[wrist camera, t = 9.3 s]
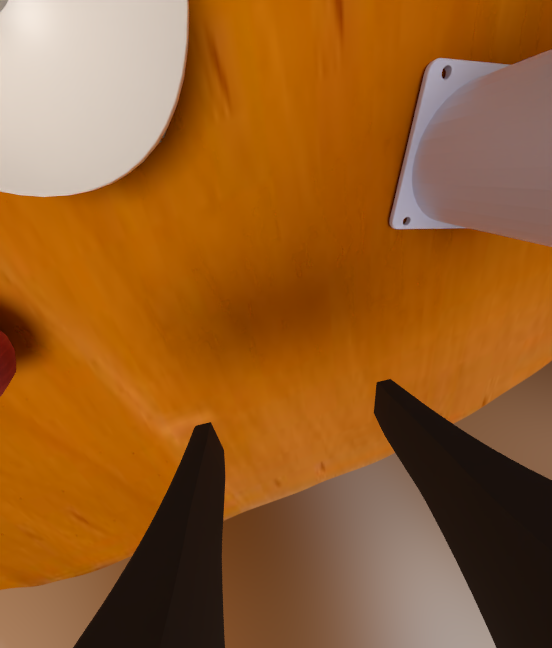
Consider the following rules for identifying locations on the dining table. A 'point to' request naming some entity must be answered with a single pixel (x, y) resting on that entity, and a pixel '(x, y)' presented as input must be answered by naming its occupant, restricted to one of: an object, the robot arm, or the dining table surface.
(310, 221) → the dining table surface
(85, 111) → the lid
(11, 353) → the onion
